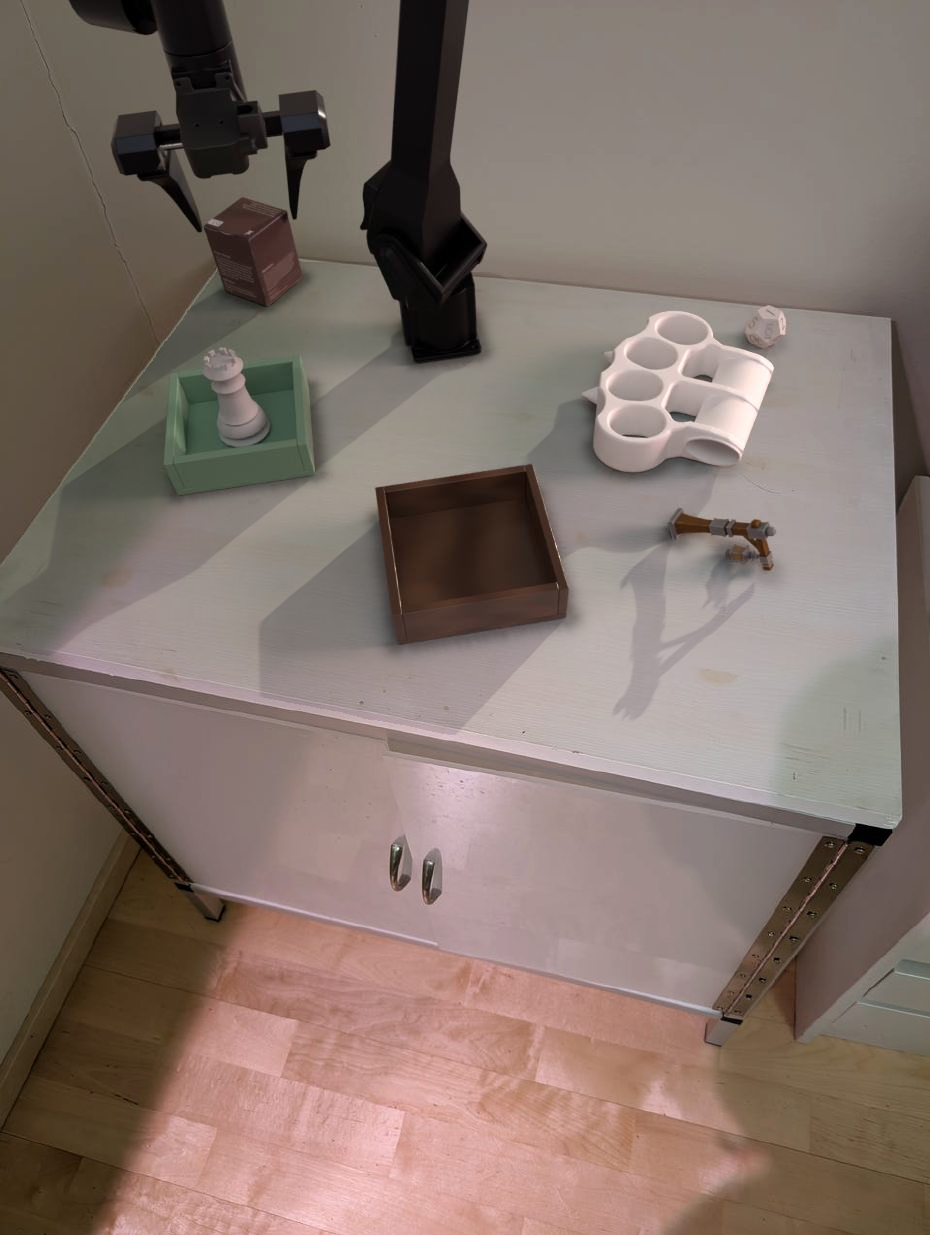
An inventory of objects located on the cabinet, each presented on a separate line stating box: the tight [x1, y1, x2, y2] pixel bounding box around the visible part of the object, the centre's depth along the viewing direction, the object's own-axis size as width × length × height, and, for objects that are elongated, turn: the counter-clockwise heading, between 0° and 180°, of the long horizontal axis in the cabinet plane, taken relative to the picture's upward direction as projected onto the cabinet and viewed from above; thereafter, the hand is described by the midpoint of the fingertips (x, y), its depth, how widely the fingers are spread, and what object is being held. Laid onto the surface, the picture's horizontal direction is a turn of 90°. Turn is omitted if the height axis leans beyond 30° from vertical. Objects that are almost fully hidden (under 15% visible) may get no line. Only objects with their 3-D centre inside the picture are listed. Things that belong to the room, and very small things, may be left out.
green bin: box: [162, 354, 316, 496], centre depth 72 cm, size 12×12×4 cm
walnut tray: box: [374, 463, 570, 645], centre depth 63 cm, size 12×12×4 cm
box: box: [202, 196, 303, 307], centre depth 84 cm, size 6×6×7 cm
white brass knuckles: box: [579, 310, 775, 473], centre depth 72 cm, size 3×18×15 cm
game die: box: [745, 304, 787, 349], centre depth 76 cm, size 4×4×3 cm
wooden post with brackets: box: [667, 506, 777, 572], centre depth 62 cm, size 2×8×4 cm, turn 55°
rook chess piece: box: [202, 347, 270, 448], centre depth 70 cm, size 4×4×8 cm
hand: (247, 224), depth 81 cm, fingers open, 9 cm apart
